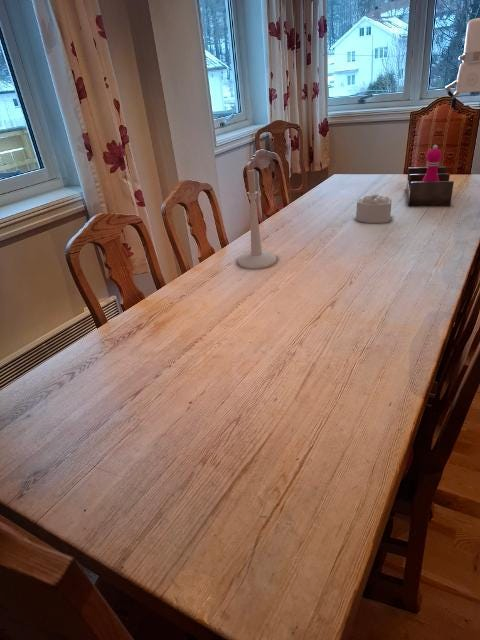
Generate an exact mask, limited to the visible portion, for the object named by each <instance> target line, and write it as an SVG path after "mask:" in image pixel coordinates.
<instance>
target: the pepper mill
mask: <svg viewBox="0 0 480 640" xmlns="http://www.w3.org/2000/svg"><path fill="white" fill-rule="evenodd" d="M438 147H439V146H438V144H434V145H433V146H432V148H431V149H429V150H428V151H427V152H426V155H425V157H426V158H425V159H426V160H427V161H426V164H425V165H426V167H427V172H426V175H425V177H424V178H423V180H422V182H430V181H439V177H438V173H437V170H438V167H439V166H440V163H441V159H442V158H443V152H442V150H441V149H439V148H438Z"/></svg>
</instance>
